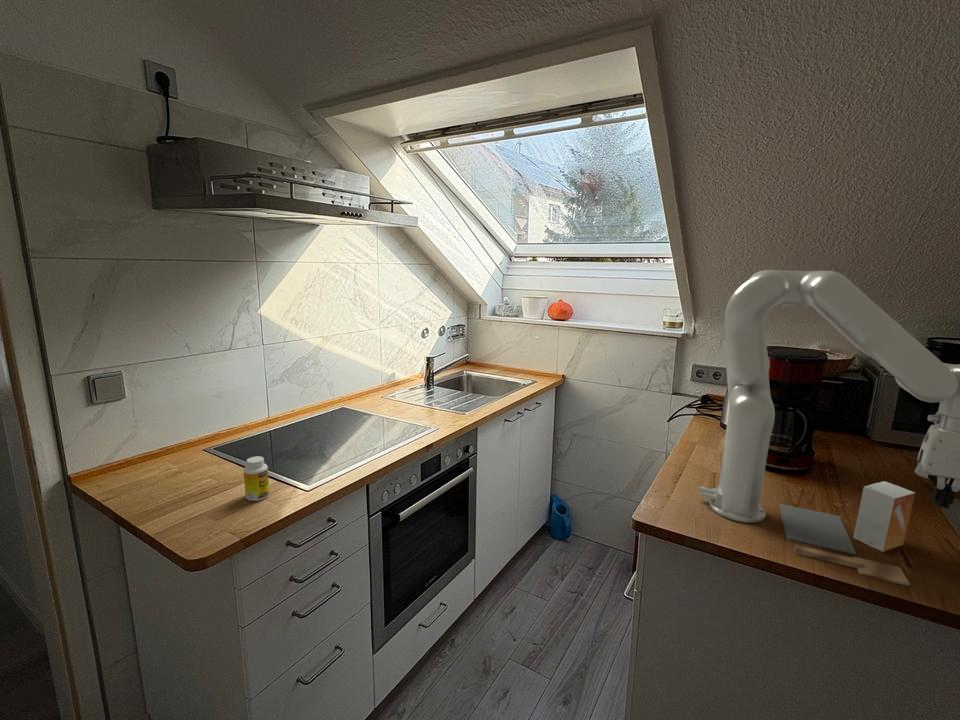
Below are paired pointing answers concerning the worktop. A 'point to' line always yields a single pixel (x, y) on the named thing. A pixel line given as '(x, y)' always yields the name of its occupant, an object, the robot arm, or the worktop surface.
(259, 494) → the supplement bottle
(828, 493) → the worktop surface
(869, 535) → the small box
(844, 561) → the light wooden turner
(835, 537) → the mat
